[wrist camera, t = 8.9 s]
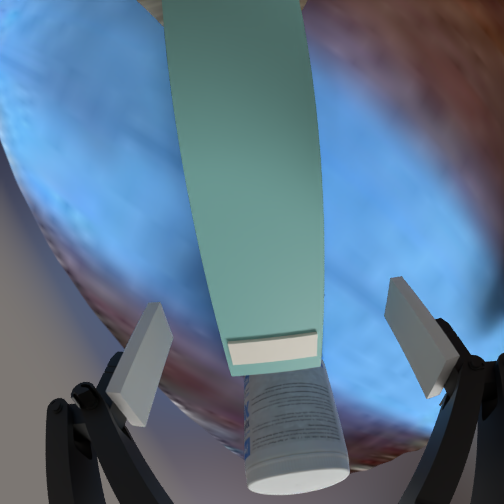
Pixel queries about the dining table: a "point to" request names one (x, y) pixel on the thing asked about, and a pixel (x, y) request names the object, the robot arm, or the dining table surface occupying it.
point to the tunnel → (154, 6)
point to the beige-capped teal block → (252, 174)
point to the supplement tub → (292, 433)
